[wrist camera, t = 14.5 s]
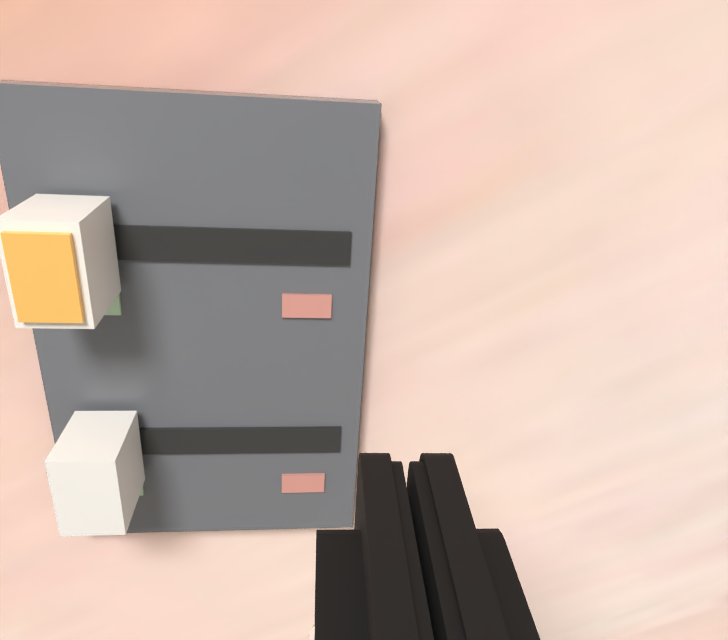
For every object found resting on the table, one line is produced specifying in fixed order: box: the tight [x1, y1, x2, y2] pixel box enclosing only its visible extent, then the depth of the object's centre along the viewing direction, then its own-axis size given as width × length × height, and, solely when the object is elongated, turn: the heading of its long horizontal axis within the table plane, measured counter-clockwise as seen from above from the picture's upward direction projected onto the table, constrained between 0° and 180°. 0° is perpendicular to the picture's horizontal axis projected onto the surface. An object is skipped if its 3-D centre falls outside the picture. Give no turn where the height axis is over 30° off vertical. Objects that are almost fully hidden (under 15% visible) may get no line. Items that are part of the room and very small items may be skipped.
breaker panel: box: [0, 80, 381, 533], centre depth 30 cm, size 16×24×2 cm, turn 177°
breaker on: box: [45, 411, 145, 536], centre depth 29 cm, size 3×4×4 cm
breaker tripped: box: [0, 194, 121, 329], centre depth 25 cm, size 3×4×4 cm
